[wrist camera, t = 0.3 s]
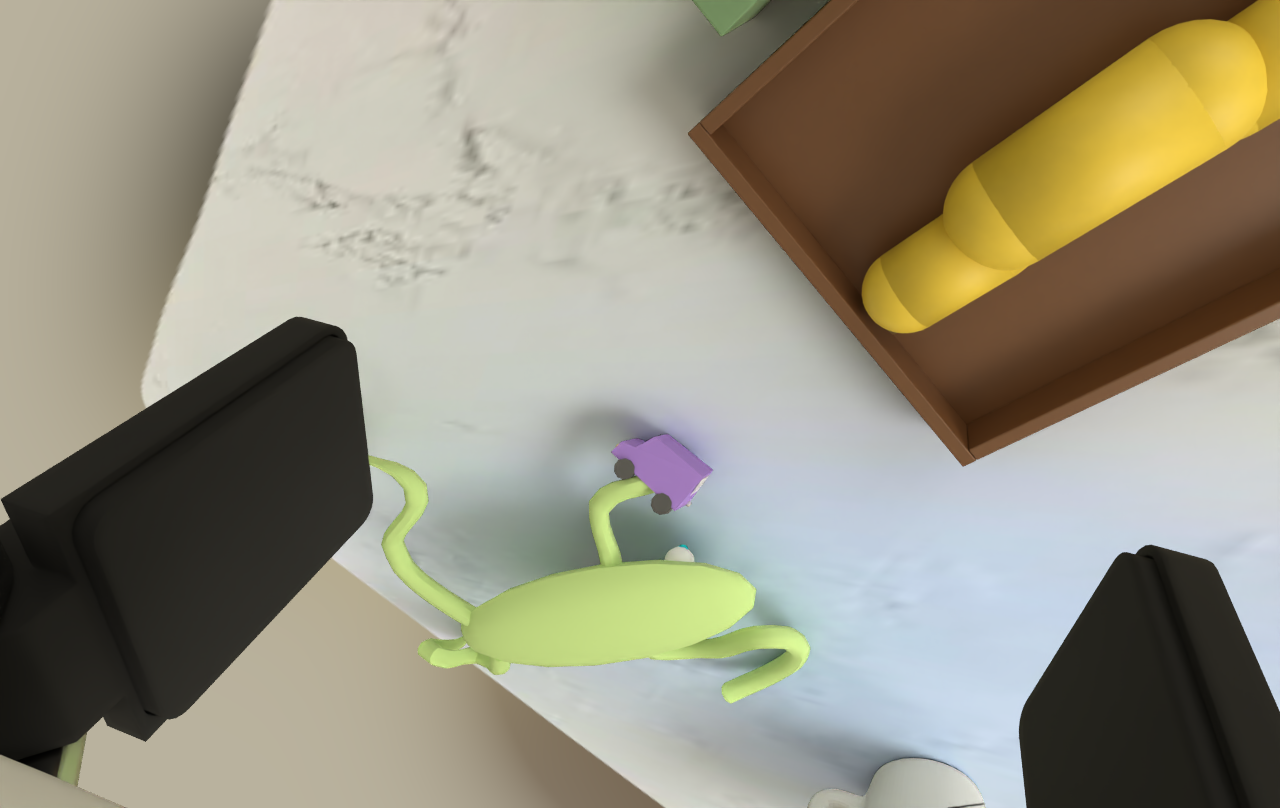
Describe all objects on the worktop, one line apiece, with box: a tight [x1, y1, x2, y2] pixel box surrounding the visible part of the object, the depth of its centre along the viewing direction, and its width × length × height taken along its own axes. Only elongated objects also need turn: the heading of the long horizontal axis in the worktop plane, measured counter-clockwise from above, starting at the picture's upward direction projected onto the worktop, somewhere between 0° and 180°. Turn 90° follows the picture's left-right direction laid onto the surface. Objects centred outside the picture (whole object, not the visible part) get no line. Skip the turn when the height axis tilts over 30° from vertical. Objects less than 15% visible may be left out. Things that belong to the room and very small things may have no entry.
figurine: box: [368, 434, 810, 703], centre depth 43 cm, size 18×27×6 cm
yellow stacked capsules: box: [862, 0, 1280, 334], centre depth 24 cm, size 17×4×4 cm, turn 135°
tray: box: [688, 0, 1280, 466], centre depth 25 cm, size 19×17×3 cm
